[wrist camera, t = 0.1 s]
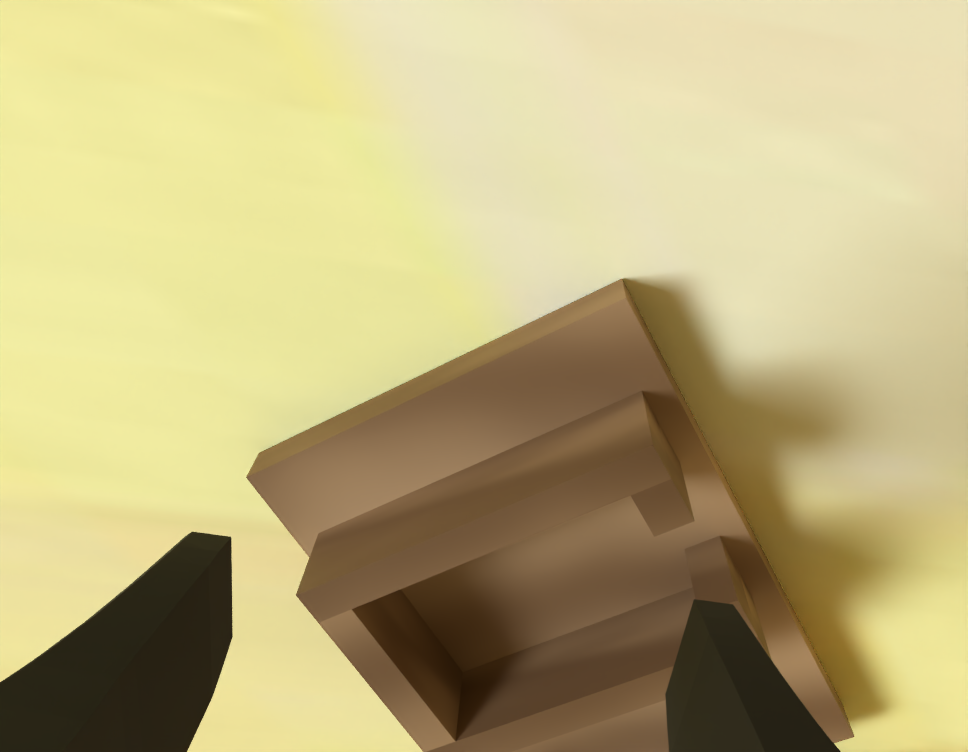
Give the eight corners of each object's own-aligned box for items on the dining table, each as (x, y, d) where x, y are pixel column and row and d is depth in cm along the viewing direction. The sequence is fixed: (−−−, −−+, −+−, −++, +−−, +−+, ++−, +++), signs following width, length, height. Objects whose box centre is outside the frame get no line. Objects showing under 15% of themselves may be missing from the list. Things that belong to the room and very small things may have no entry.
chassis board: (842, 705, 28) (882, 811, 25) (529, 804, 31) (527, 910, 27) (621, 279, 22) (635, 343, 18) (259, 452, 25) (215, 535, 21)
